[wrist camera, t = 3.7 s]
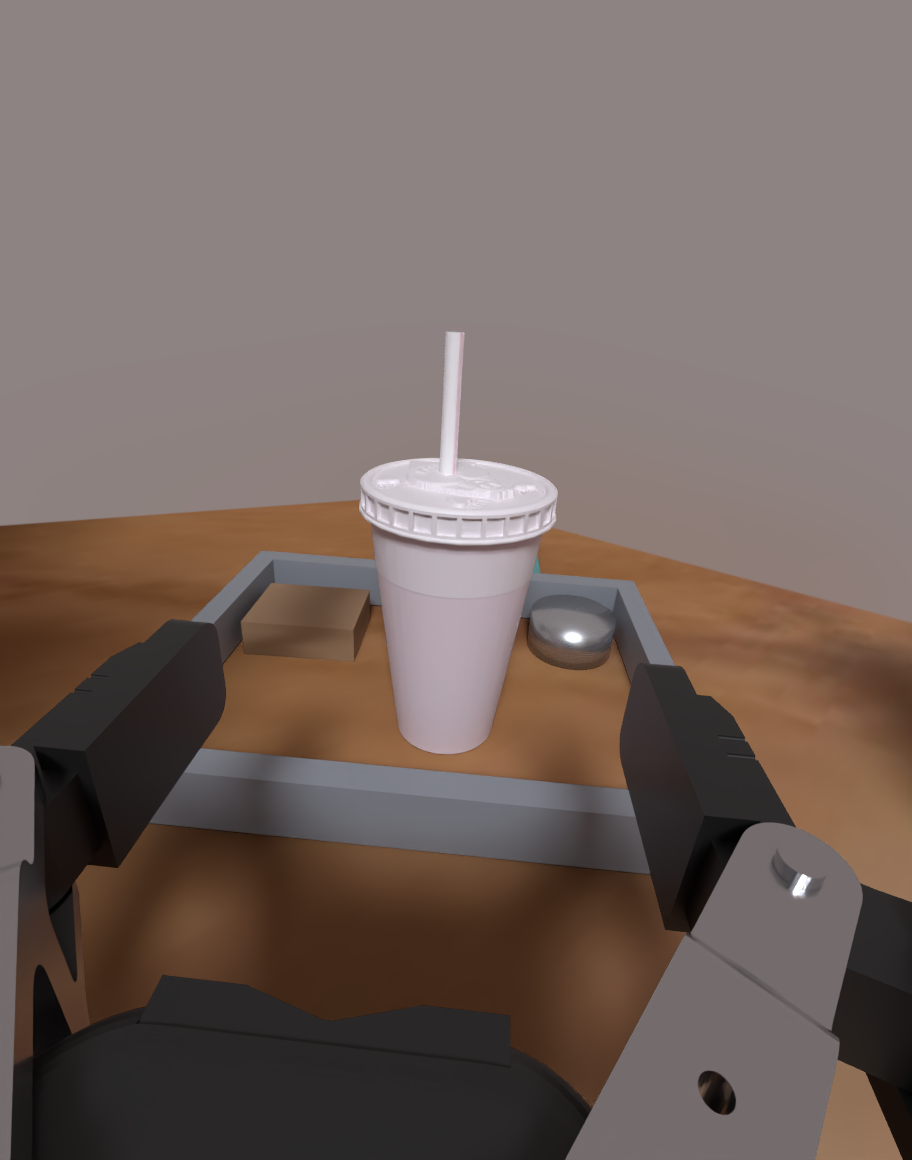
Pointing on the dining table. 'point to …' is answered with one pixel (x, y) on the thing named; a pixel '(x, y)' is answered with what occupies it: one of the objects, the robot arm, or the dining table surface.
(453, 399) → the smoothie
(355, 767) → the grey rectangular frame
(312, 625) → the walnut tile
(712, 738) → the robot arm
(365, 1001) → the dining table surface
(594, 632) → the silver round puck
